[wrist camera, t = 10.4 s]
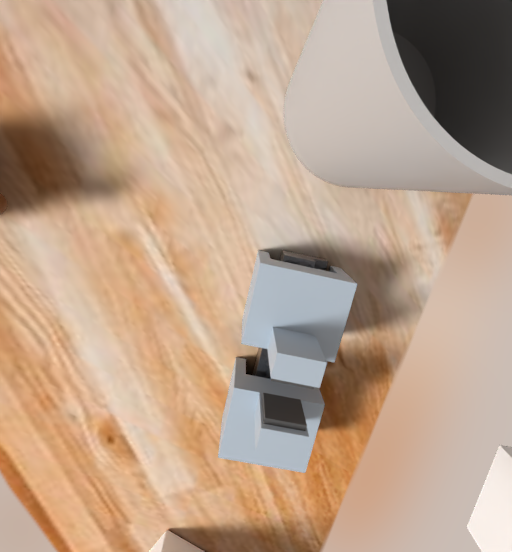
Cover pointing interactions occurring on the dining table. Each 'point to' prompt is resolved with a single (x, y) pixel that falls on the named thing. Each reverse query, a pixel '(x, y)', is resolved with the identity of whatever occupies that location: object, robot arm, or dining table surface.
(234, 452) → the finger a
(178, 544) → the milk carton
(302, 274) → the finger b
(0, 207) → the mug
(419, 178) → the cylinder vase
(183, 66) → the dining table surface
